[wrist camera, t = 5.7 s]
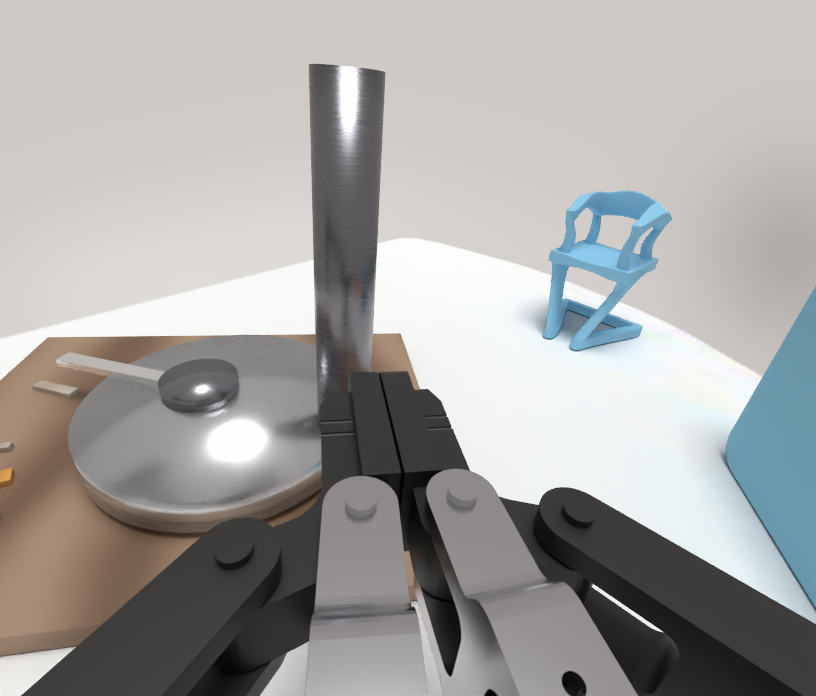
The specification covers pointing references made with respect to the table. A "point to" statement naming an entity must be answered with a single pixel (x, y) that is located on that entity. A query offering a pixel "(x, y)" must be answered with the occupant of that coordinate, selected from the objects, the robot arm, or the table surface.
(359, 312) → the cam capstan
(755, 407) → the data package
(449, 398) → the table surface
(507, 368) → the table surface
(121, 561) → the base plate
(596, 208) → the chair
